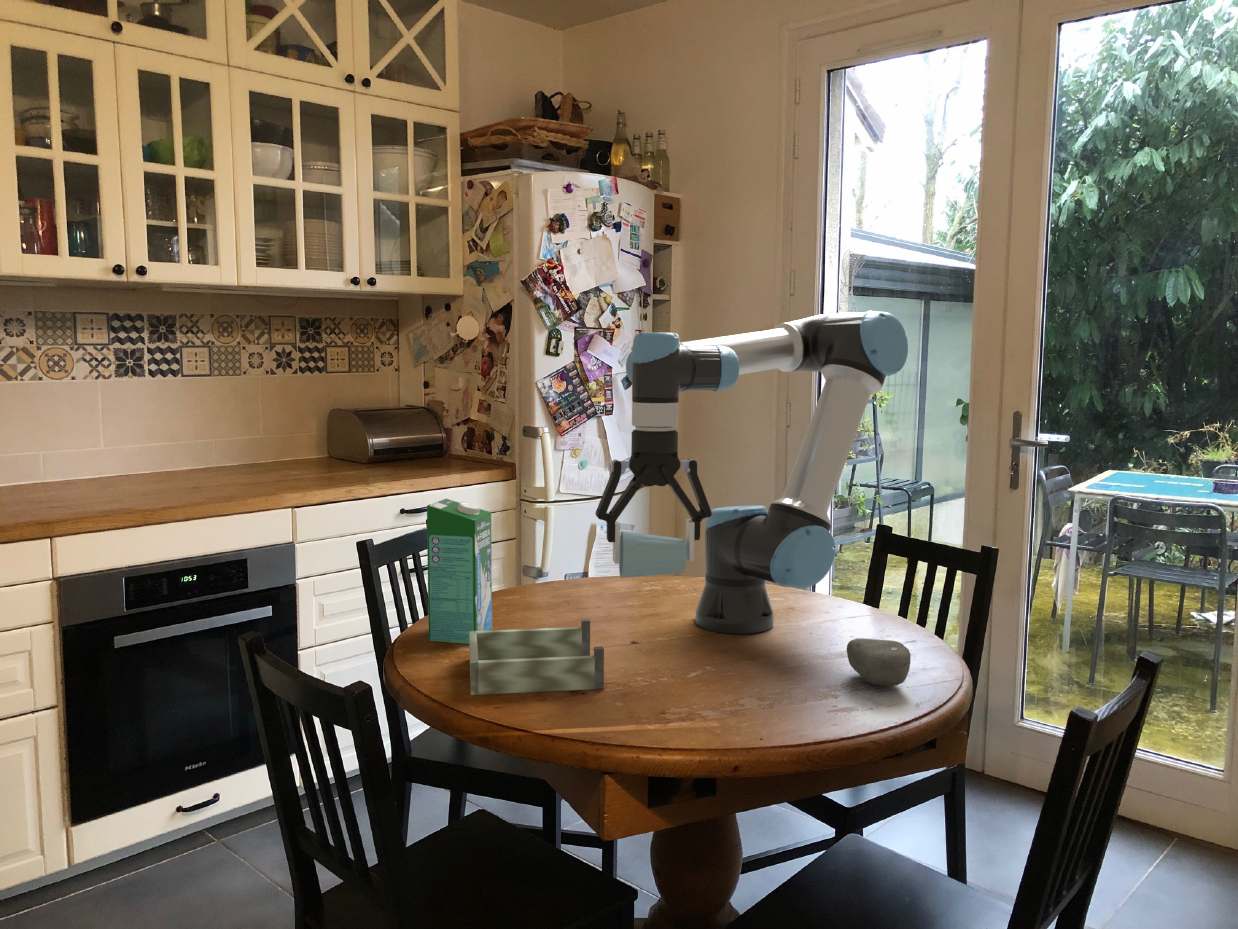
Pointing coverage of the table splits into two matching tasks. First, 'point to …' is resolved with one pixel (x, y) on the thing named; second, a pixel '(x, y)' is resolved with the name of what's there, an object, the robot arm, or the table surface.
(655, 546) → the cup
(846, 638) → the table surface
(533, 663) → the bay
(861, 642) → the stone
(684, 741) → the table surface
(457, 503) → the milk carton
